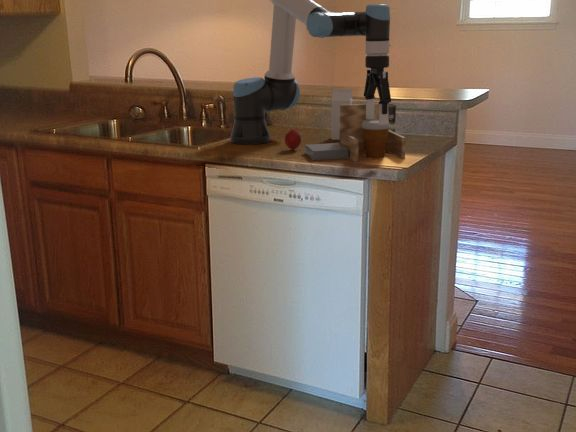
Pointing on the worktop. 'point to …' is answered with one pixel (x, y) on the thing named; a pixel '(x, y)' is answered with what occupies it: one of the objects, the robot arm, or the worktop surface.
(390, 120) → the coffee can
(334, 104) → the milk carton
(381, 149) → the disposable coffee cup
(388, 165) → the worktop surface
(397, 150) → the brown patterned armchair
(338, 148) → the trivet
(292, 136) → the onion
